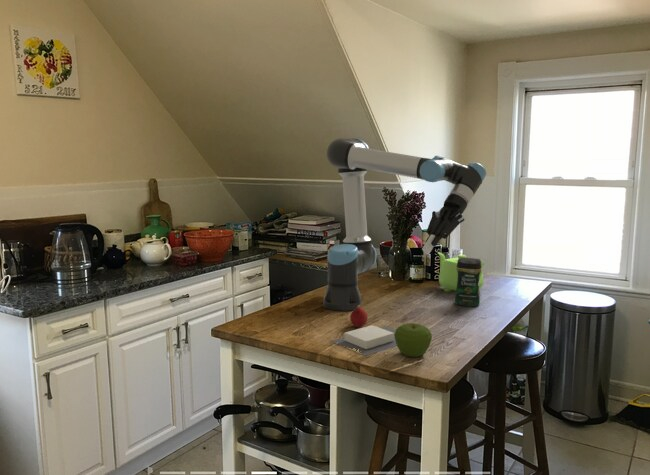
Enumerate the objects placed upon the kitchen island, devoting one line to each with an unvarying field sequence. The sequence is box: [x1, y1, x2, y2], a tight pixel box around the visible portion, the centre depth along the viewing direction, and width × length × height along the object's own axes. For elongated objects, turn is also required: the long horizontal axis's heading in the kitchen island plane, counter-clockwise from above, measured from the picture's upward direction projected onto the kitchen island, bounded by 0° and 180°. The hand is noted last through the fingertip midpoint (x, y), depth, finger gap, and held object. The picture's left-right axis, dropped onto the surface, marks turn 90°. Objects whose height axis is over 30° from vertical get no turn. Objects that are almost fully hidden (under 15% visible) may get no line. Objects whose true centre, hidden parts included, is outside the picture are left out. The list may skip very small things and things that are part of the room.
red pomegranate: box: [349, 305, 368, 329], centre depth 184 cm, size 6×6×8 cm
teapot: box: [437, 251, 485, 293], centre depth 236 cm, size 25×22×16 cm
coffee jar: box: [454, 257, 483, 307], centre depth 213 cm, size 10×8×19 cm
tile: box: [343, 324, 394, 349], centre depth 170 cm, size 3×10×12 cm
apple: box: [394, 322, 433, 358], centre depth 159 cm, size 11×10×10 cm
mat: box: [331, 325, 398, 357], centre depth 172 cm, size 24×16×1 cm, turn 129°
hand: (425, 251), depth 183 cm, fingers closed
